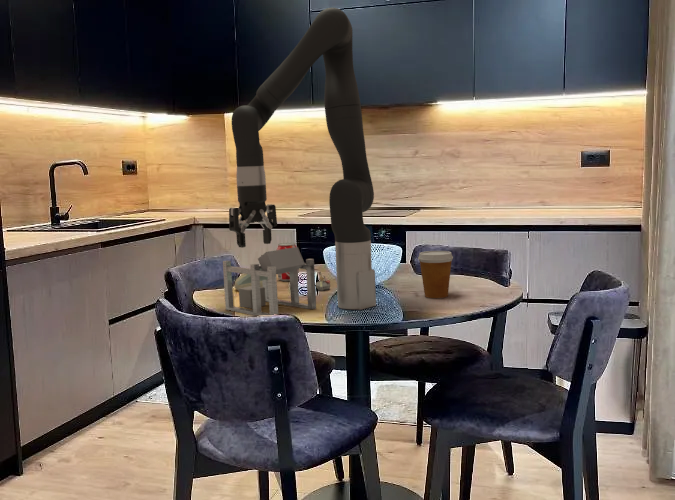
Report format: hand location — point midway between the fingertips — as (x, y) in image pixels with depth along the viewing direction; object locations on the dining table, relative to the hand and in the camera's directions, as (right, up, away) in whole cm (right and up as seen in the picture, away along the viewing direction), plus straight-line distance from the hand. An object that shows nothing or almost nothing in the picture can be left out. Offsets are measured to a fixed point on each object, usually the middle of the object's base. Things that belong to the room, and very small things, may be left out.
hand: (254, 245), depth 179 cm
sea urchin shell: (-5, -14, +28) cm, 32 cm away
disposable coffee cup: (+49, -14, +7) cm, 51 cm away
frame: (+4, -17, -1) cm, 17 cm away
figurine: (+18, -13, +23) cm, 32 cm away
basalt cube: (+1, -14, +2) cm, 14 cm away
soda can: (+6, -11, +43) cm, 44 cm away
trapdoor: (+5, -9, -4) cm, 11 cm away
